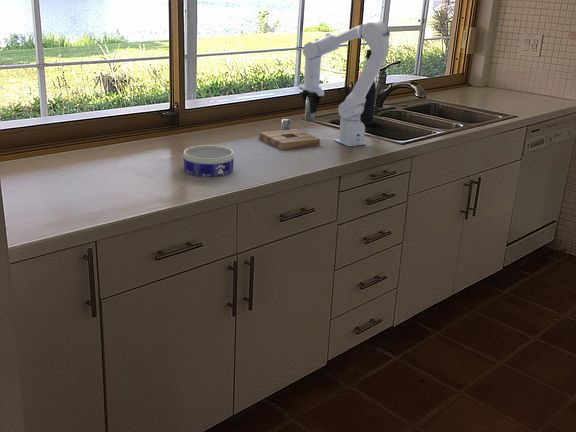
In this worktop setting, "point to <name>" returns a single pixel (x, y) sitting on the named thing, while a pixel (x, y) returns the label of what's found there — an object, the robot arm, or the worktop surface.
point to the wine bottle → (369, 102)
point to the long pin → (308, 112)
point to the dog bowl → (208, 161)
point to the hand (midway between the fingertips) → (310, 111)
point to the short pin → (286, 124)
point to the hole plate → (289, 139)
